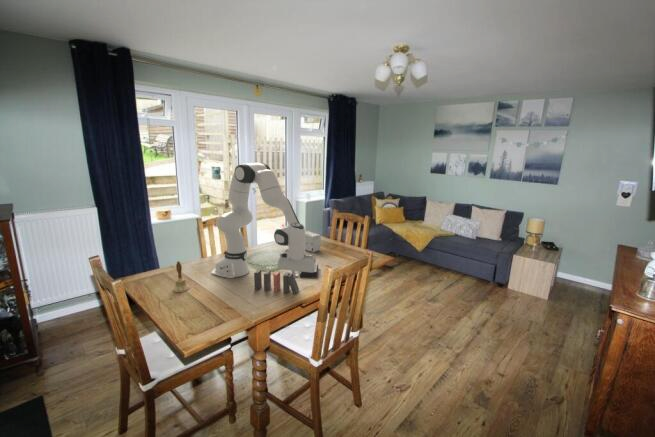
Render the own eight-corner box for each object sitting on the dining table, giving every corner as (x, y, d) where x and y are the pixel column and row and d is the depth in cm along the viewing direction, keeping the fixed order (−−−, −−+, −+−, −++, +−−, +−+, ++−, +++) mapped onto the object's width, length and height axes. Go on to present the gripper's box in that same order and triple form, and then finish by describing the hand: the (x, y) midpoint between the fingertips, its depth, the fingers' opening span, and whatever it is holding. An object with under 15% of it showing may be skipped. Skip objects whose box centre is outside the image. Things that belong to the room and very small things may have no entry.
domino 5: (293, 294, 166) (286, 277, 164) (295, 289, 171) (289, 273, 169) (296, 293, 165) (290, 276, 164) (299, 289, 170) (292, 272, 168)
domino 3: (273, 291, 168) (273, 274, 165) (276, 287, 173) (276, 271, 170) (277, 292, 167) (277, 275, 165) (280, 288, 172) (280, 271, 170)
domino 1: (254, 289, 170) (254, 272, 167) (258, 285, 174) (257, 269, 172) (258, 290, 169) (257, 273, 167) (261, 286, 174) (261, 269, 172)
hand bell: (181, 293, 163) (178, 265, 159) (169, 290, 166) (166, 263, 162) (193, 287, 171) (190, 260, 167) (181, 284, 174) (178, 257, 170)
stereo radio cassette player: (320, 251, 234) (321, 225, 230) (313, 253, 228) (313, 227, 224) (302, 244, 248) (302, 220, 243) (294, 246, 242) (294, 222, 237)
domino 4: (283, 292, 167) (283, 275, 164) (286, 288, 172) (286, 272, 169) (286, 293, 166) (286, 276, 164) (289, 289, 171) (289, 272, 169)
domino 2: (264, 290, 169) (263, 273, 166) (267, 286, 173) (267, 270, 171) (267, 291, 168) (267, 274, 166) (270, 287, 173) (270, 270, 171)
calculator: (318, 263, 201) (317, 271, 186) (318, 269, 202) (316, 277, 187) (301, 262, 201) (298, 270, 187) (301, 268, 202) (298, 277, 187)
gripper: (317, 253, 164) (316, 277, 167) (280, 250, 168) (280, 273, 171) (314, 257, 158) (314, 282, 161) (276, 253, 162) (276, 278, 165)
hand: (296, 277), depth 166 cm, fingers closed
